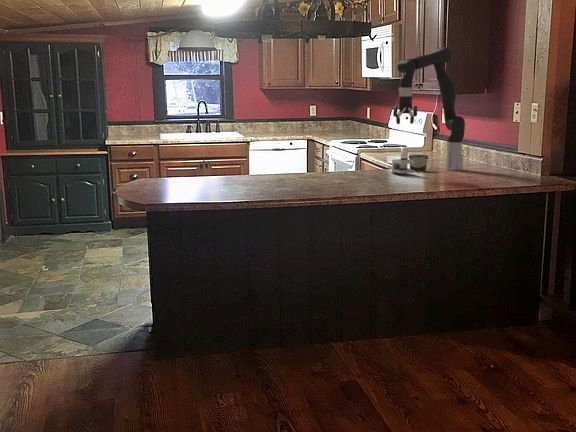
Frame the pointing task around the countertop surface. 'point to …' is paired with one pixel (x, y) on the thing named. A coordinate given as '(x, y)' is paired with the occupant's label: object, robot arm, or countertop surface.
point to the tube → (404, 159)
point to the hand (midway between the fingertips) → (404, 123)
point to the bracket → (397, 166)
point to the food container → (418, 162)
